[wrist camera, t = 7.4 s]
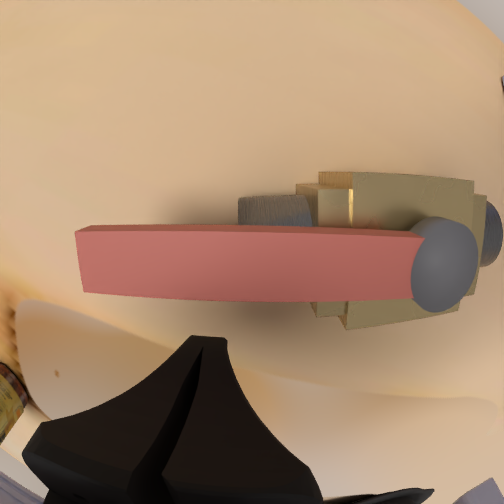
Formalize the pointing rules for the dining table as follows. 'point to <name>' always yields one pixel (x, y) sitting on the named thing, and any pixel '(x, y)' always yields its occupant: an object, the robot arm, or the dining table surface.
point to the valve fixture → (380, 225)
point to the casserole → (399, 497)
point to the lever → (280, 262)
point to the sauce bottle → (10, 401)
